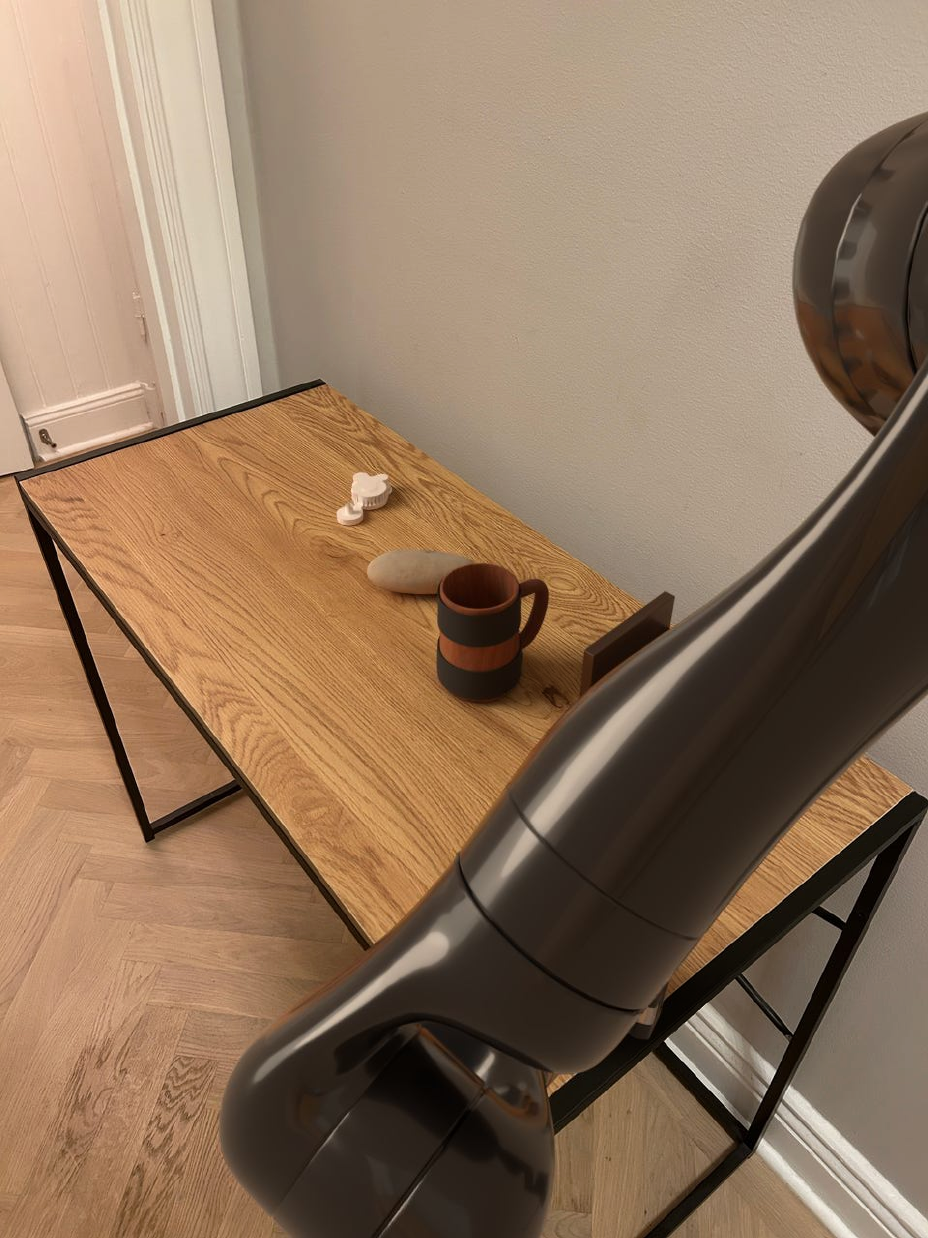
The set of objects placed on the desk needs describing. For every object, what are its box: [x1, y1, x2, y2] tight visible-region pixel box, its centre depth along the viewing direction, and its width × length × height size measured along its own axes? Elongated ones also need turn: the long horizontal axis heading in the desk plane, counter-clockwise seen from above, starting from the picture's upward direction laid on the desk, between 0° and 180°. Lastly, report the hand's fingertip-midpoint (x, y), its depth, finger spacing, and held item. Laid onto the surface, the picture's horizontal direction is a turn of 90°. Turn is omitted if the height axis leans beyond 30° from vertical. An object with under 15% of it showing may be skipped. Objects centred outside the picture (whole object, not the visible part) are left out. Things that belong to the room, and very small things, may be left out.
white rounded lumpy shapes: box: [336, 471, 393, 527], centre depth 119 cm, size 9×9×2 cm
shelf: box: [578, 590, 676, 699], centre depth 87 cm, size 11×12×10 cm
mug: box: [435, 562, 550, 704], centre depth 92 cm, size 9×12×12 cm
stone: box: [366, 548, 475, 595], centre depth 105 cm, size 6×6×12 cm
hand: (561, 933), depth 61 cm, fingers open, 8 cm apart
